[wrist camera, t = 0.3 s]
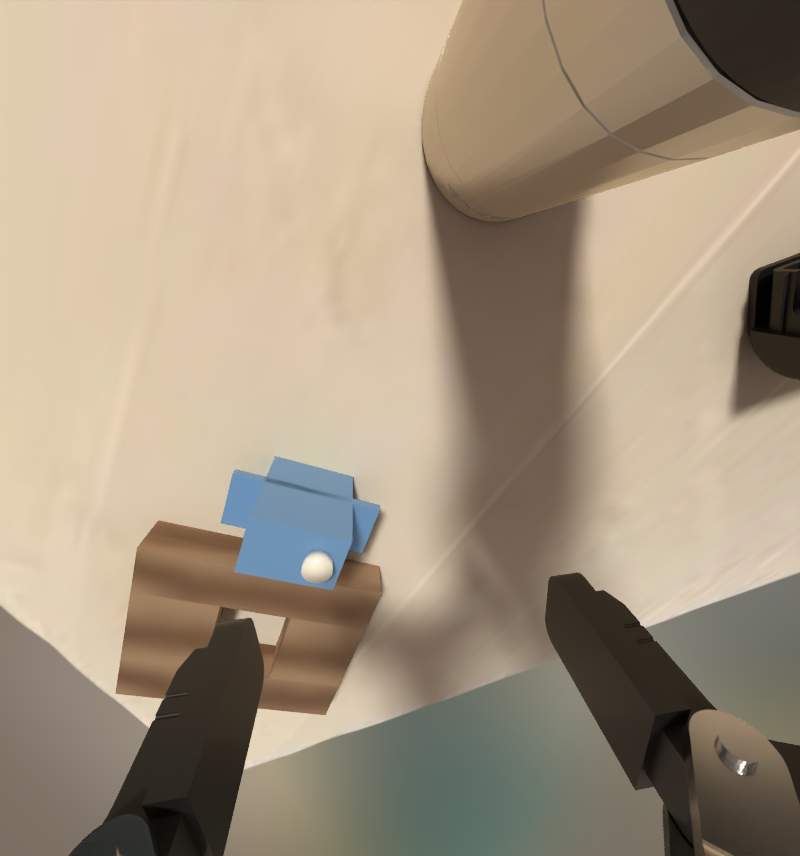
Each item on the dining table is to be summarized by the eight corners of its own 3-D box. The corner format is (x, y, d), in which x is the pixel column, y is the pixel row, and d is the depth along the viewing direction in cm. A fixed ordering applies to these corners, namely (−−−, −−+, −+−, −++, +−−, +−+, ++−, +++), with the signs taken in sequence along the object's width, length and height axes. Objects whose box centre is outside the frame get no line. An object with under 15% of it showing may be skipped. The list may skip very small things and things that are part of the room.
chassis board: (158, 520, 28) (137, 547, 26) (379, 566, 32) (381, 593, 30) (135, 659, 34) (115, 693, 31) (327, 682, 38) (325, 715, 35)
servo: (236, 493, 28) (192, 576, 21) (247, 448, 27) (205, 519, 19) (361, 522, 31) (363, 606, 23) (377, 483, 29) (384, 557, 22)
